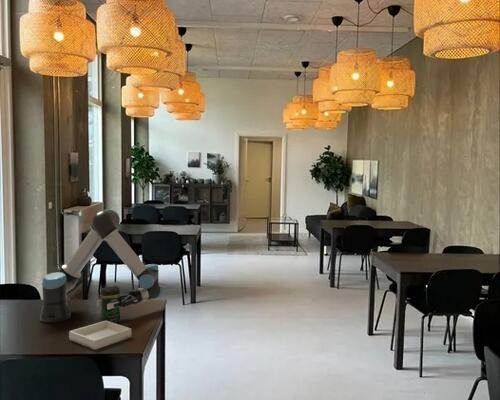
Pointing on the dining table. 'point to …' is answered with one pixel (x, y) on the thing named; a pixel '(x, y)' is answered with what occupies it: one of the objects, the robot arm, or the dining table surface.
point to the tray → (100, 334)
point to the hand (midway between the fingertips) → (102, 305)
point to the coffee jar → (109, 297)
